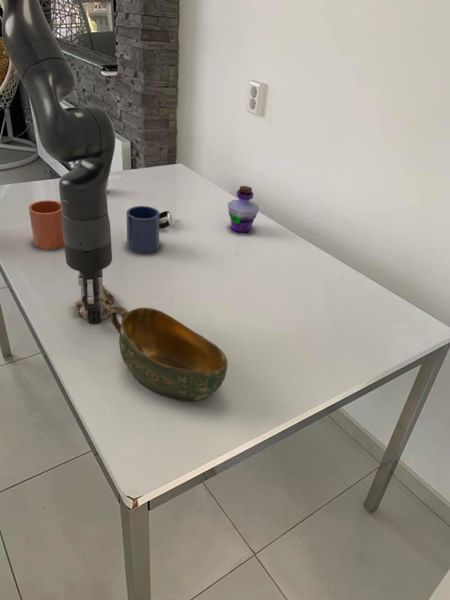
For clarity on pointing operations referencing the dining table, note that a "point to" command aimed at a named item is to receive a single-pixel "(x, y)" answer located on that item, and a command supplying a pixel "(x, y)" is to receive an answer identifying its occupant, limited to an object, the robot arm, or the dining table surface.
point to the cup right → (143, 229)
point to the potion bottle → (242, 210)
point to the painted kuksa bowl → (168, 354)
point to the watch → (168, 222)
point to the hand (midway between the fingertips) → (94, 321)
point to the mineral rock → (106, 305)
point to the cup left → (46, 224)
